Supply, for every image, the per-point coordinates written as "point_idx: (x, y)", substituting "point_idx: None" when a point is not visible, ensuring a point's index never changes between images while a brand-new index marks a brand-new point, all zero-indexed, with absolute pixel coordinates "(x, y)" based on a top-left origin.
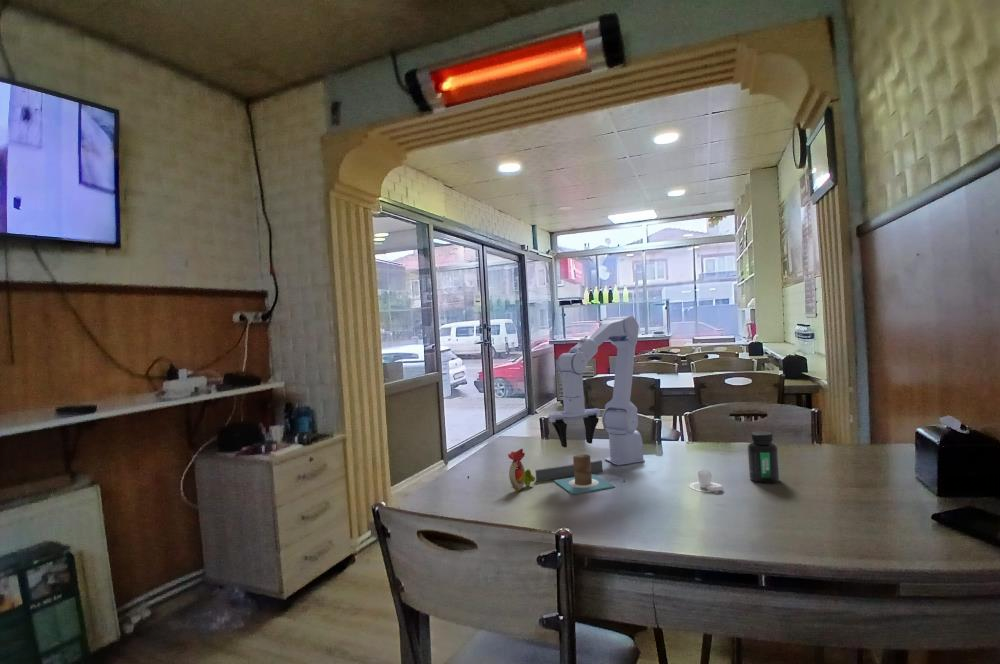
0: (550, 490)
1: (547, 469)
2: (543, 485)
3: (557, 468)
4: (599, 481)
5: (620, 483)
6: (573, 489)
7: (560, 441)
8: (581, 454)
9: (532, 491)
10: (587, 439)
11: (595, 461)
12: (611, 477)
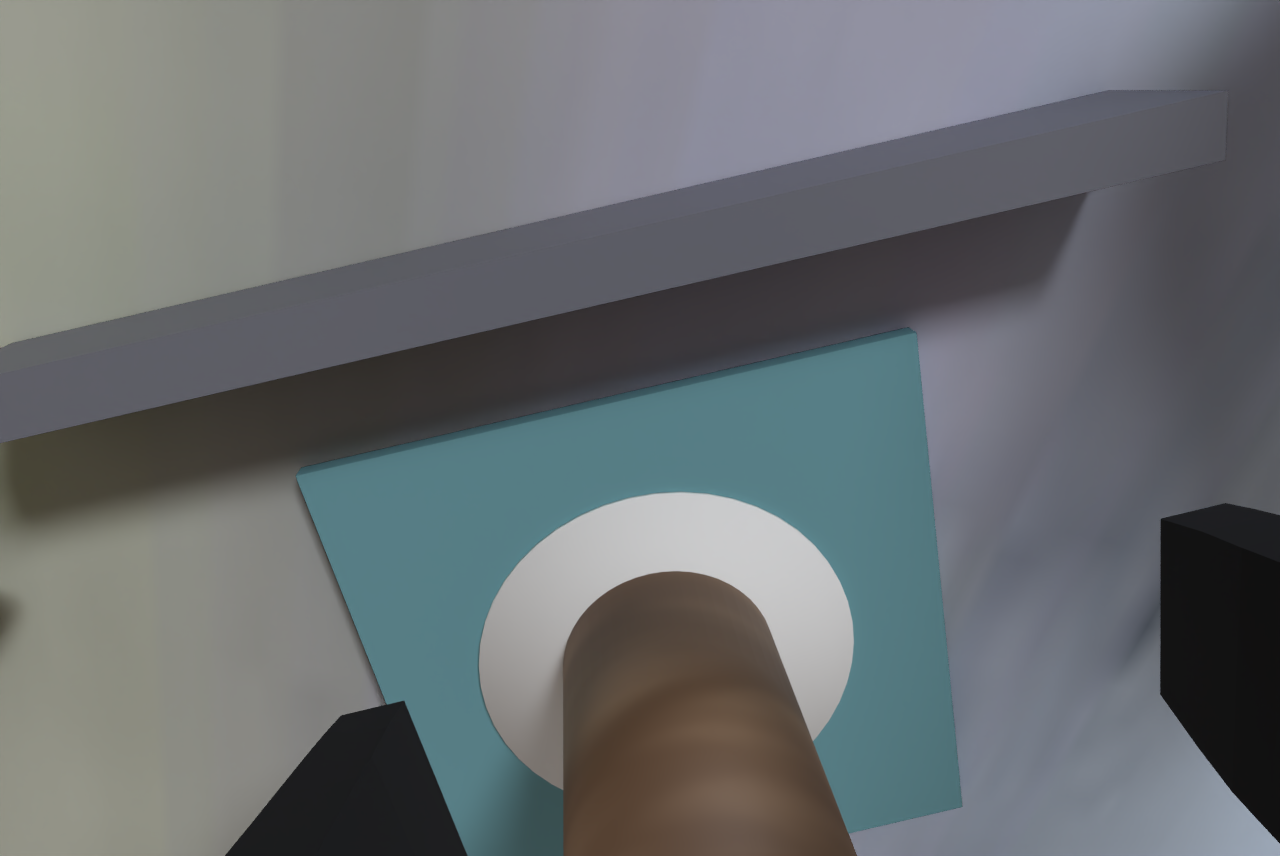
0: (244, 755)
1: (141, 406)
2: (147, 575)
3: (335, 360)
4: (870, 641)
5: (1071, 685)
6: (509, 828)
7: (266, 810)
8: (767, 850)
9: (14, 751)
10: (1231, 640)
11: (1100, 170)
12: (1084, 461)
